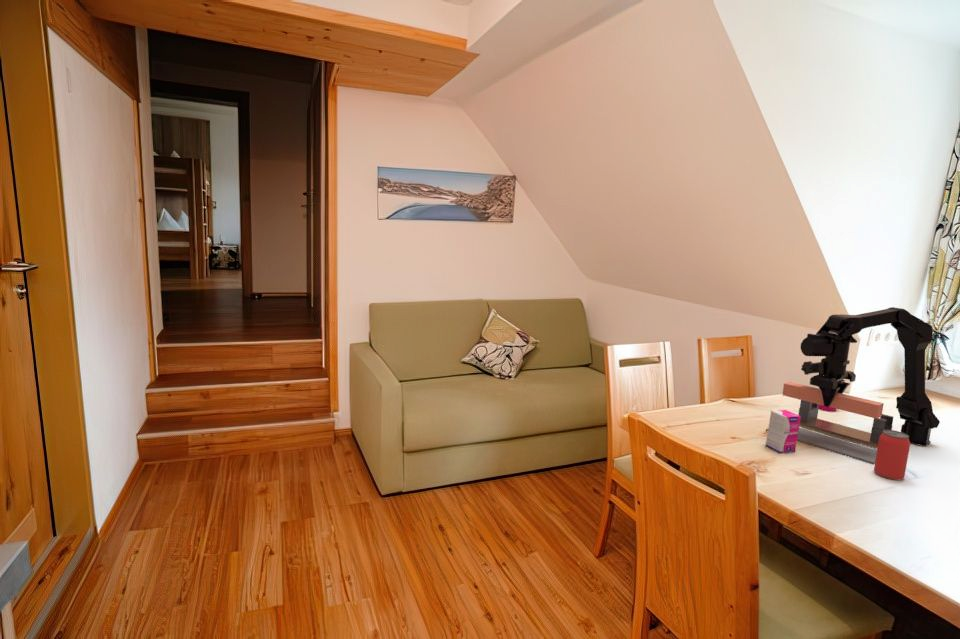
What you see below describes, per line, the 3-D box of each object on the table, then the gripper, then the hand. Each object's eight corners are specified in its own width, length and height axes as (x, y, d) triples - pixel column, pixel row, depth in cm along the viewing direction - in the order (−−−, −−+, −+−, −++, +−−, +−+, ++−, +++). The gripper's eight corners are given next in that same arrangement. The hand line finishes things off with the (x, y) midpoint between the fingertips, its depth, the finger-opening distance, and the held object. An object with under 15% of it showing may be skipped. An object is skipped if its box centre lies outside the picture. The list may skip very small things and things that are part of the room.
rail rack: (898, 445, 166) (902, 417, 164) (887, 451, 160) (892, 423, 158) (802, 418, 188) (805, 394, 186) (789, 423, 182) (792, 398, 180)
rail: (881, 416, 154) (883, 403, 154) (876, 418, 152) (878, 405, 151) (787, 393, 175) (789, 381, 174) (782, 395, 173) (783, 383, 172)
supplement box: (780, 453, 155) (785, 416, 153) (764, 446, 161) (769, 410, 159) (796, 452, 157) (801, 415, 155) (780, 444, 162) (785, 409, 160)
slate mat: (887, 455, 157) (888, 453, 157) (873, 464, 150) (873, 462, 150) (782, 424, 181) (782, 422, 181) (765, 431, 174) (765, 429, 174)
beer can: (874, 467, 148) (881, 427, 146) (904, 475, 144) (911, 433, 142) (872, 475, 143) (879, 433, 141) (903, 483, 138) (911, 440, 137)
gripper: (820, 348, 173) (813, 394, 175) (794, 354, 162) (788, 403, 164) (859, 355, 164) (852, 403, 167) (835, 362, 153) (828, 413, 155)
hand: (829, 405), depth 163 cm, fingers closed on rail, 4 cm apart
